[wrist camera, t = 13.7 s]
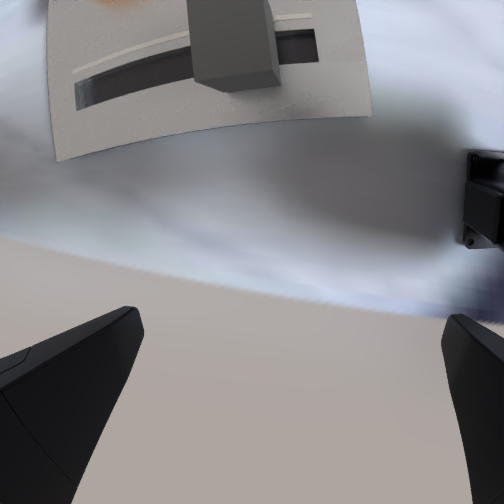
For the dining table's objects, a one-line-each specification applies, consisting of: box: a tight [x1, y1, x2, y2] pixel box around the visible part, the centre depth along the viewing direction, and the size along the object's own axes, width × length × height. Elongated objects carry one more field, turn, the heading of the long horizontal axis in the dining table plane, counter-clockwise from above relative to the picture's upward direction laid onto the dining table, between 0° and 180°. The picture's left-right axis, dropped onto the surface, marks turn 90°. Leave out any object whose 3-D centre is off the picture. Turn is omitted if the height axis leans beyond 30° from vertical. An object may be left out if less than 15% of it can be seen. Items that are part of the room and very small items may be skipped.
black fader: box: [186, 0, 282, 92], centre depth 12 cm, size 3×4×6 cm
